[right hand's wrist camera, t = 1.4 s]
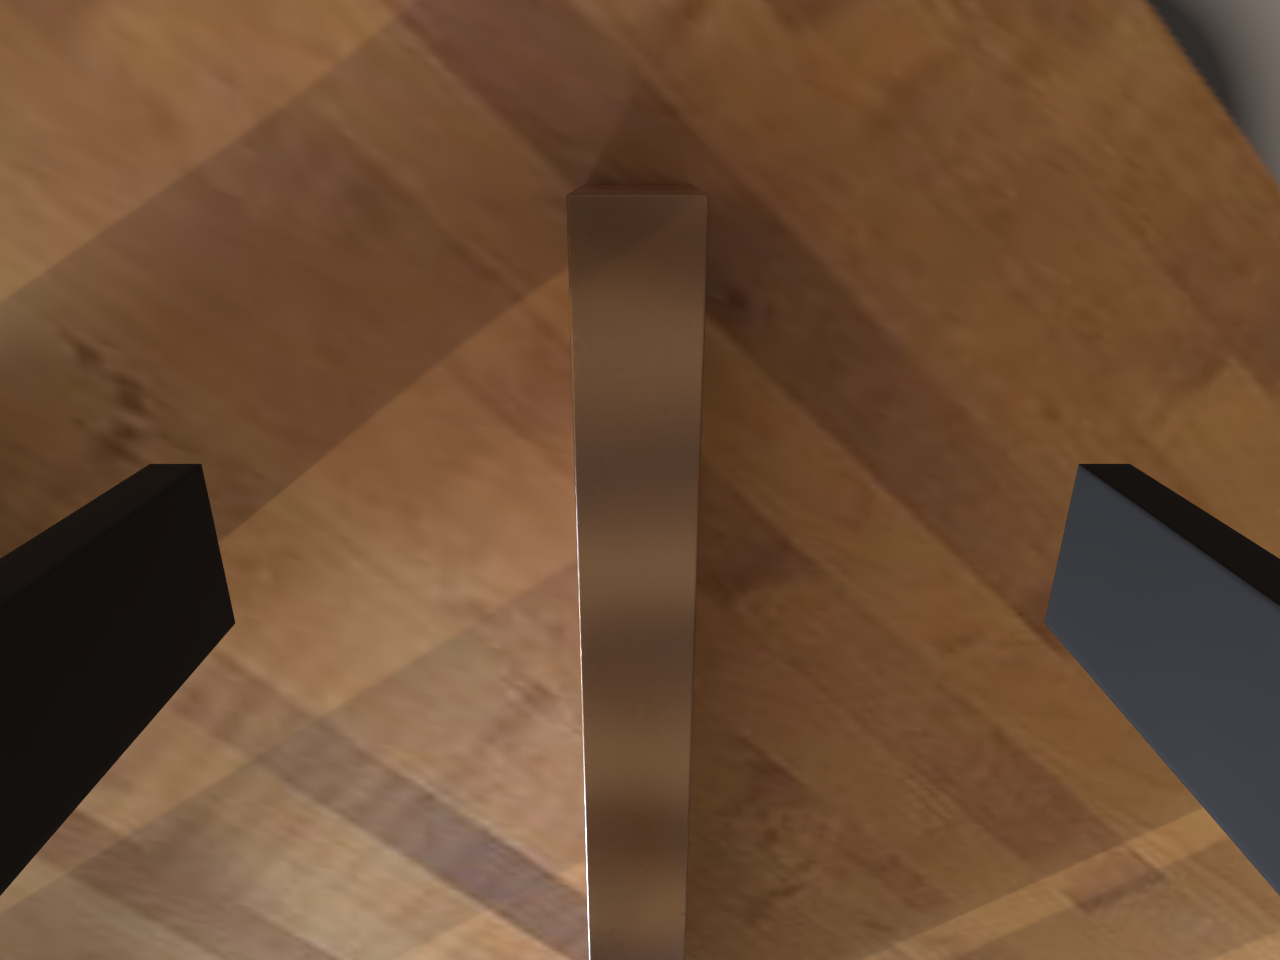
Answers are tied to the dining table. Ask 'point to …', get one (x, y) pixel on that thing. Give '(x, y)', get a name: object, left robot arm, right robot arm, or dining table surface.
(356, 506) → the dining table surface
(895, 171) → the dining table surface
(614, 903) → the beam
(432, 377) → the dining table surface
